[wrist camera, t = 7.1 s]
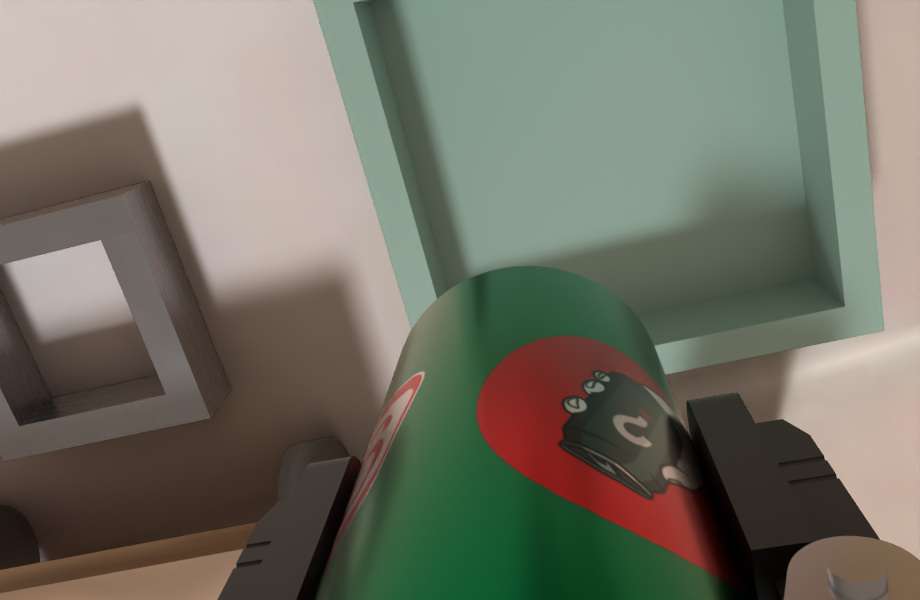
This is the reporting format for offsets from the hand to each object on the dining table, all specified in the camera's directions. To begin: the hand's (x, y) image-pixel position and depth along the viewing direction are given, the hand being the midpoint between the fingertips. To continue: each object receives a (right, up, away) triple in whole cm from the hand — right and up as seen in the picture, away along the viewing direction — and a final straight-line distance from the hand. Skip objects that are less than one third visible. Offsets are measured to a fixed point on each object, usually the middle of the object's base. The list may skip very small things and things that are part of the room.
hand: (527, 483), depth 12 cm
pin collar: (-17, +2, +22) cm, 27 cm away
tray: (+4, +9, +18) cm, 20 cm away
